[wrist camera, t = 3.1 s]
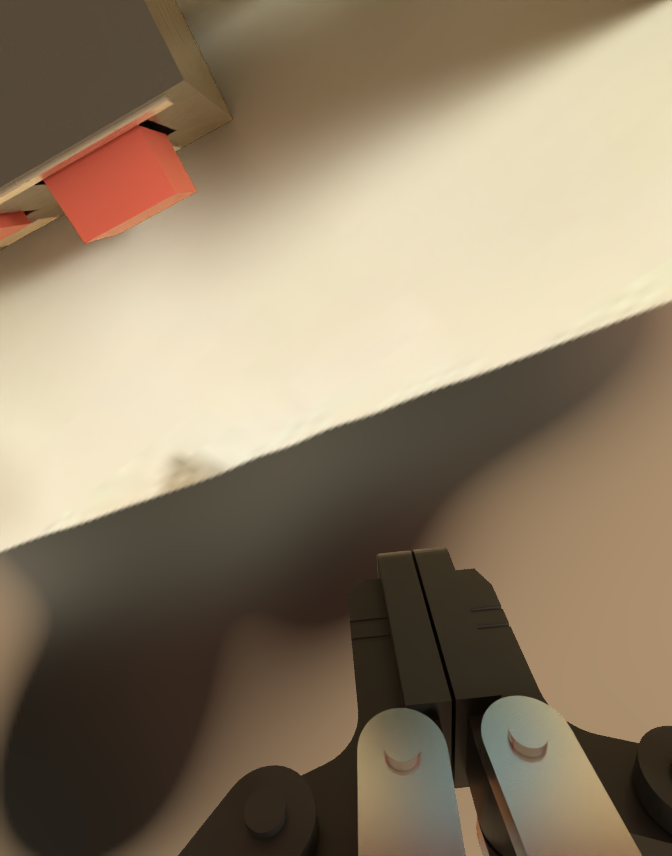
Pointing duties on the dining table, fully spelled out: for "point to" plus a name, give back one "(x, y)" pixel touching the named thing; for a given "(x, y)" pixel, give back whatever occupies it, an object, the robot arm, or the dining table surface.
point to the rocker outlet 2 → (120, 184)
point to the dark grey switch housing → (92, 89)
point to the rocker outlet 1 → (12, 223)
